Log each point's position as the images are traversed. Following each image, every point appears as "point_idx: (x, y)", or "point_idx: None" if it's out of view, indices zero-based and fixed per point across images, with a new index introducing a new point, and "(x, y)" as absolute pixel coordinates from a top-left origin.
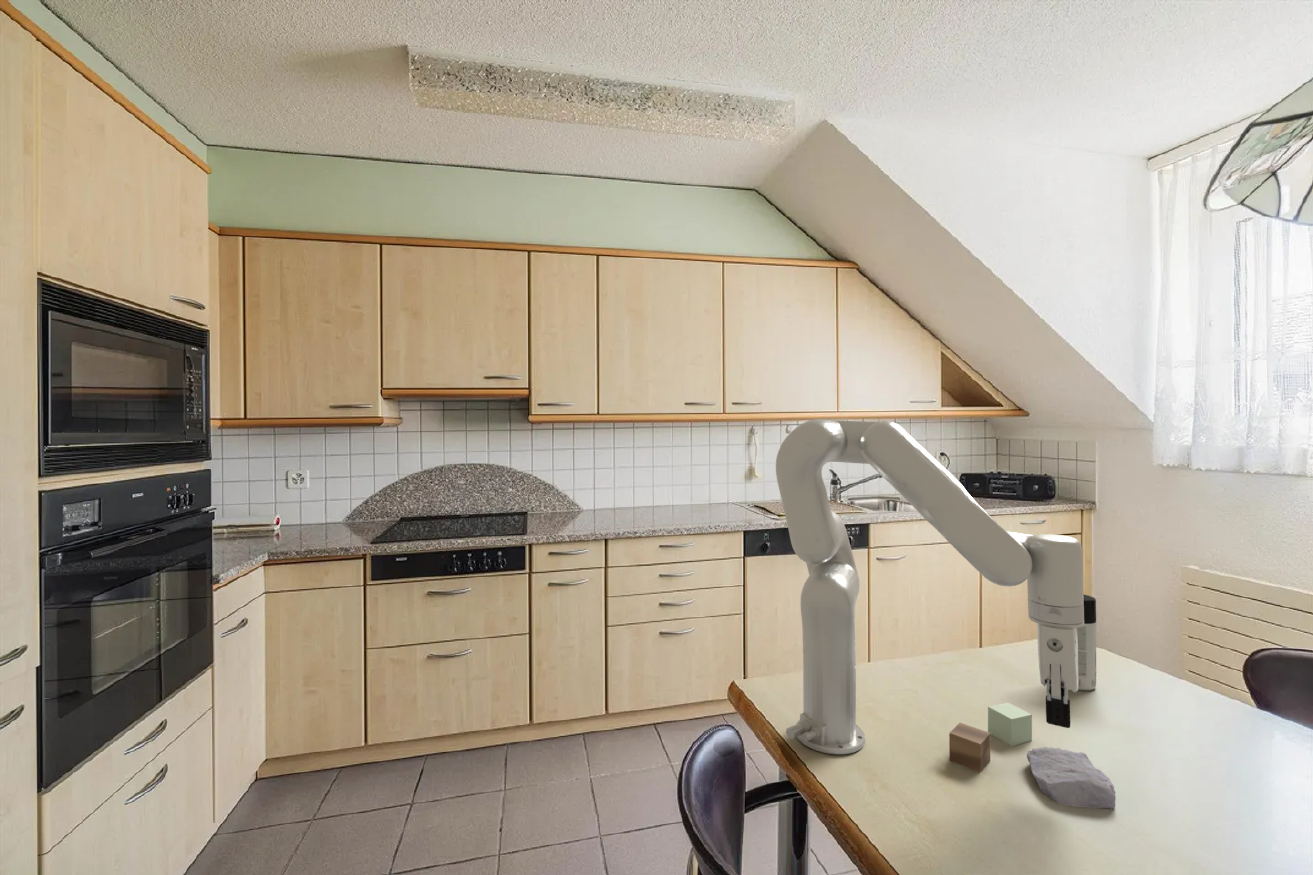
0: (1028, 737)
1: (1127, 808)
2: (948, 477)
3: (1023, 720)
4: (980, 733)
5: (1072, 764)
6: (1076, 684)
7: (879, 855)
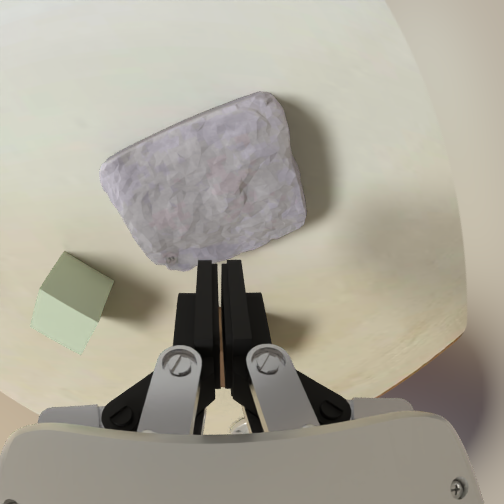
0: (69, 261)
1: (245, 68)
2: None
3: (67, 296)
4: (221, 360)
5: (194, 186)
6: (463, 449)
7: (457, 339)
